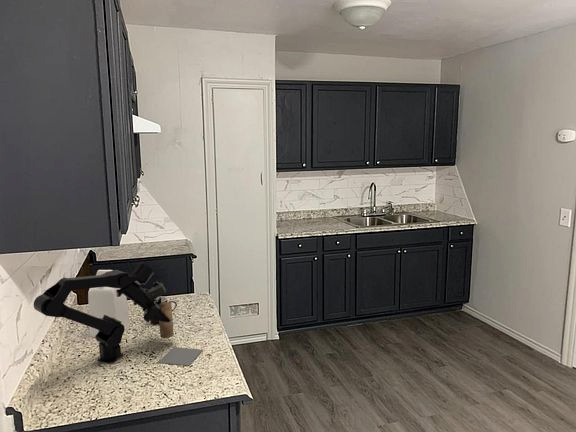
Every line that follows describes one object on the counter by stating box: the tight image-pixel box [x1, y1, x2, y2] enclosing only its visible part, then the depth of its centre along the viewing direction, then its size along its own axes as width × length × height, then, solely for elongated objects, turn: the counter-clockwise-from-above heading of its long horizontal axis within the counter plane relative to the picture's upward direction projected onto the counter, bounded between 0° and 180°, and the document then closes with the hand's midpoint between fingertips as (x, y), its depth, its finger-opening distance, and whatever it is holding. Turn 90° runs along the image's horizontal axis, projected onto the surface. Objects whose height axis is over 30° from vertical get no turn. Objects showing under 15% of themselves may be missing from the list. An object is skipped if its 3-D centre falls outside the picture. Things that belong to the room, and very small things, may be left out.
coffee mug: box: [150, 295, 178, 326], centre depth 195 cm, size 12×9×10 cm
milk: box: [87, 269, 132, 337], centre depth 186 cm, size 12×12×26 cm
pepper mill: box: [158, 301, 174, 339], centre depth 172 cm, size 5×5×12 cm
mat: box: [157, 346, 204, 367], centre depth 164 cm, size 12×12×1 cm
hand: (169, 318), depth 173 cm, fingers closed on pepper mill, 5 cm apart
